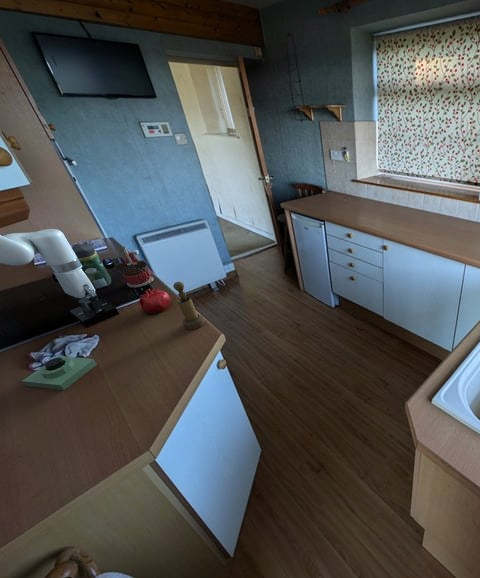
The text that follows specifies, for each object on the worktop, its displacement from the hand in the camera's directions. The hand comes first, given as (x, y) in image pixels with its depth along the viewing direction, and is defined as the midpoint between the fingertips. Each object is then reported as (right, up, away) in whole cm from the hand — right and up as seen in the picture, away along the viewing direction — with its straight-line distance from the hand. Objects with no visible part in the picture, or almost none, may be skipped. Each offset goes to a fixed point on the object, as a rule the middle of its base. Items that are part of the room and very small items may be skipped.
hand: (92, 307), depth 110 cm
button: (+14, -15, -25) cm, 33 cm away
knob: (0, 0, 0) cm, 0 cm away
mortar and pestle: (+40, -6, -2) cm, 40 cm away
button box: (+14, -18, -23) cm, 33 cm away
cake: (0, +10, +23) cm, 25 cm away
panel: (0, -3, +2) cm, 4 cm away
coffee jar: (-17, +9, +21) cm, 29 cm away
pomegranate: (+20, -1, +6) cm, 21 cm away
